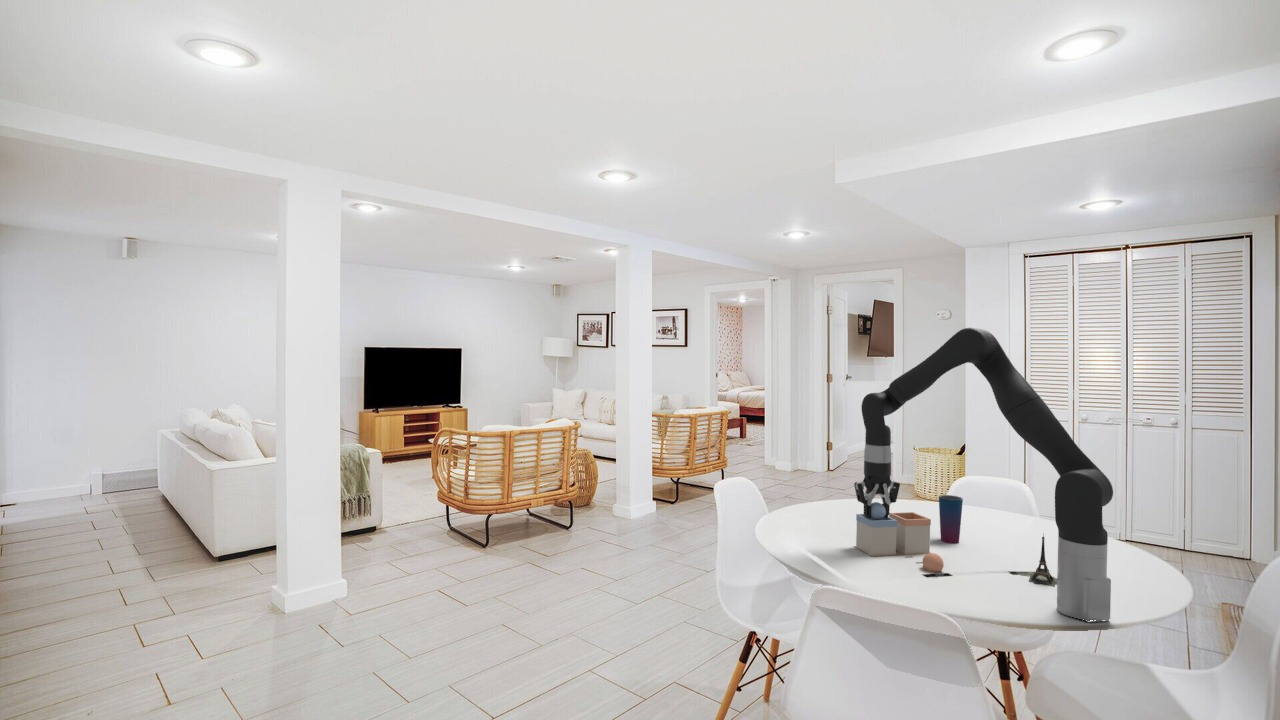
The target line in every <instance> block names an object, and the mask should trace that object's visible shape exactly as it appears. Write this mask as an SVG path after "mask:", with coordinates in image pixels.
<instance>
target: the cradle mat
mask: <svg viewBox="0 0 1280 720" xmlns="http://www.w3.org/2000/svg"><path fill="white" fill-rule="evenodd" d="M905 558H908V559H909V558H913V555H908V556H905ZM915 563H916V564H923V562H921V561H918V562H917V561H916V562H915ZM922 567H923V568H924V566H923V565H922ZM921 576H923V577H925V578H940V577H954V575H953V574H950V573H948V572H943V571H940V572H933V573H927V574H926V573H925V574H921Z"/></svg>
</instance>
